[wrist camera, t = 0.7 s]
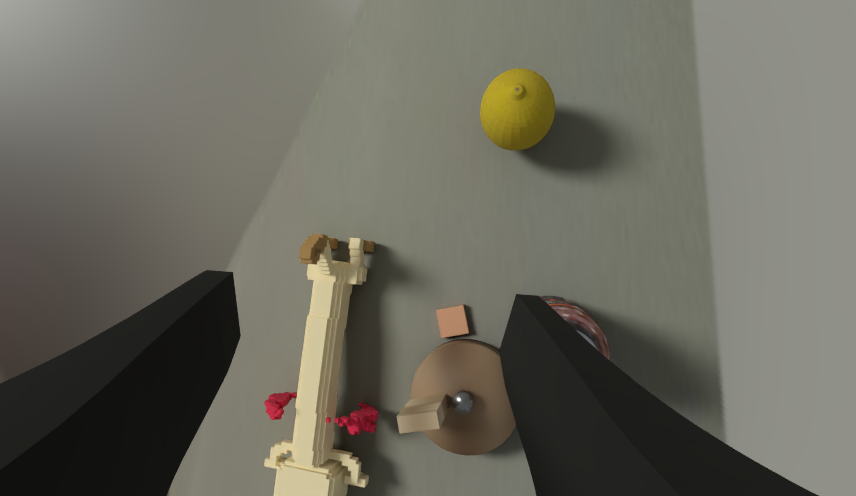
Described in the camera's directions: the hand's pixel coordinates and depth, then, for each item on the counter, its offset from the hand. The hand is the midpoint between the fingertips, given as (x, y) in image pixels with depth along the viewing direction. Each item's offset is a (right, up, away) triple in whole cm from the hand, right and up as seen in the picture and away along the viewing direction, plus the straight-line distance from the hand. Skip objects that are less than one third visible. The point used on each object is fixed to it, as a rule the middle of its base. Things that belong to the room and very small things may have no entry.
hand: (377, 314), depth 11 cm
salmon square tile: (+3, -5, +24) cm, 25 cm away
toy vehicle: (-7, -10, +27) cm, 30 cm away
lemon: (+9, +12, +24) cm, 28 cm away
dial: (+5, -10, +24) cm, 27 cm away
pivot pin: (+4, -10, +21) cm, 24 cm away
